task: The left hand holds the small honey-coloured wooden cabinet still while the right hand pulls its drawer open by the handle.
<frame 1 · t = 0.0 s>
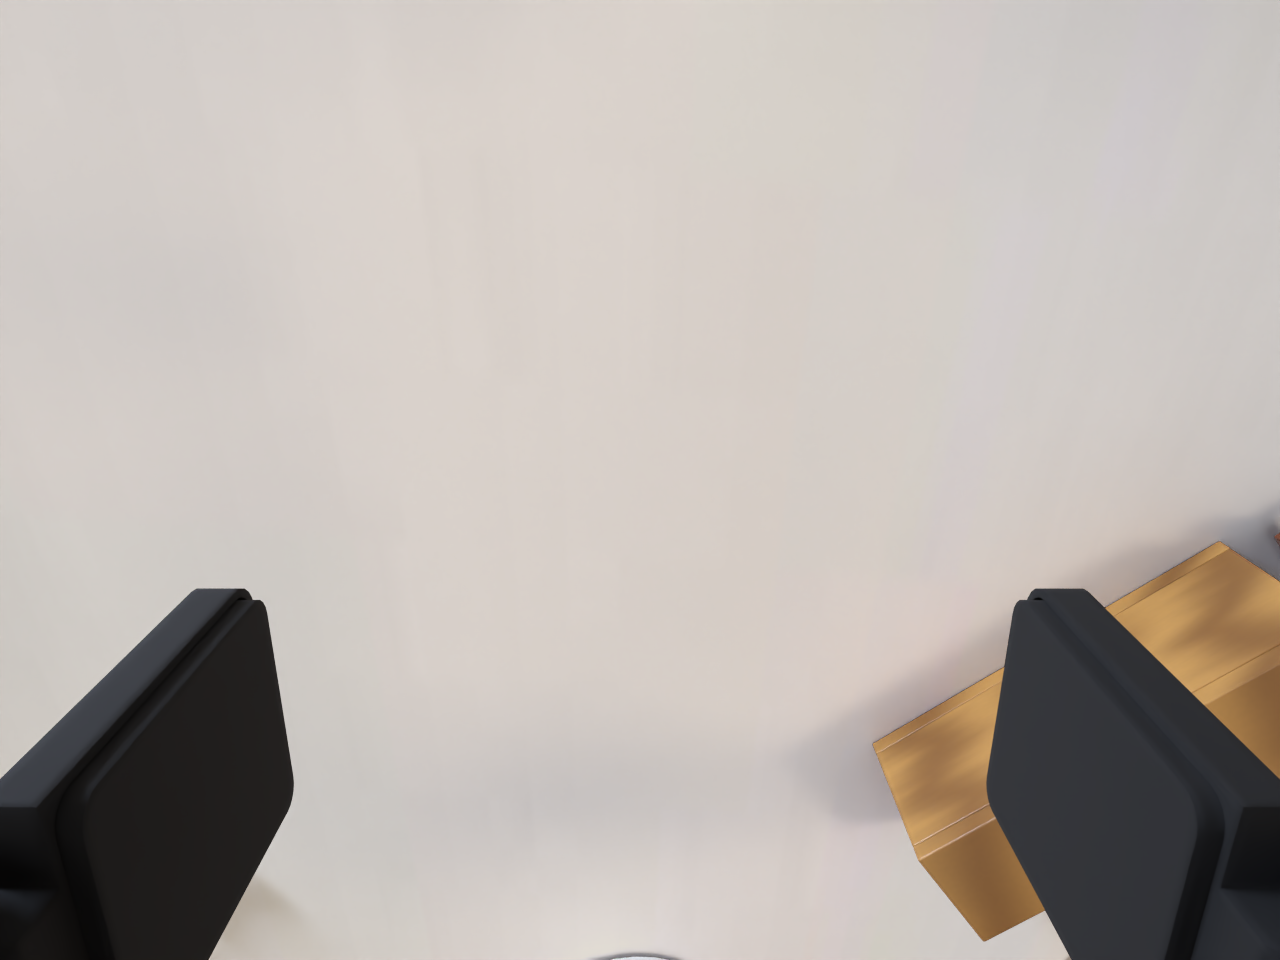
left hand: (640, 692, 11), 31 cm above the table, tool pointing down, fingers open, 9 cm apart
drawer: (1233, 665, 42), point 4 cm above the table, slide at 1.9 cm
cabinet: (1065, 686, 47), on the table
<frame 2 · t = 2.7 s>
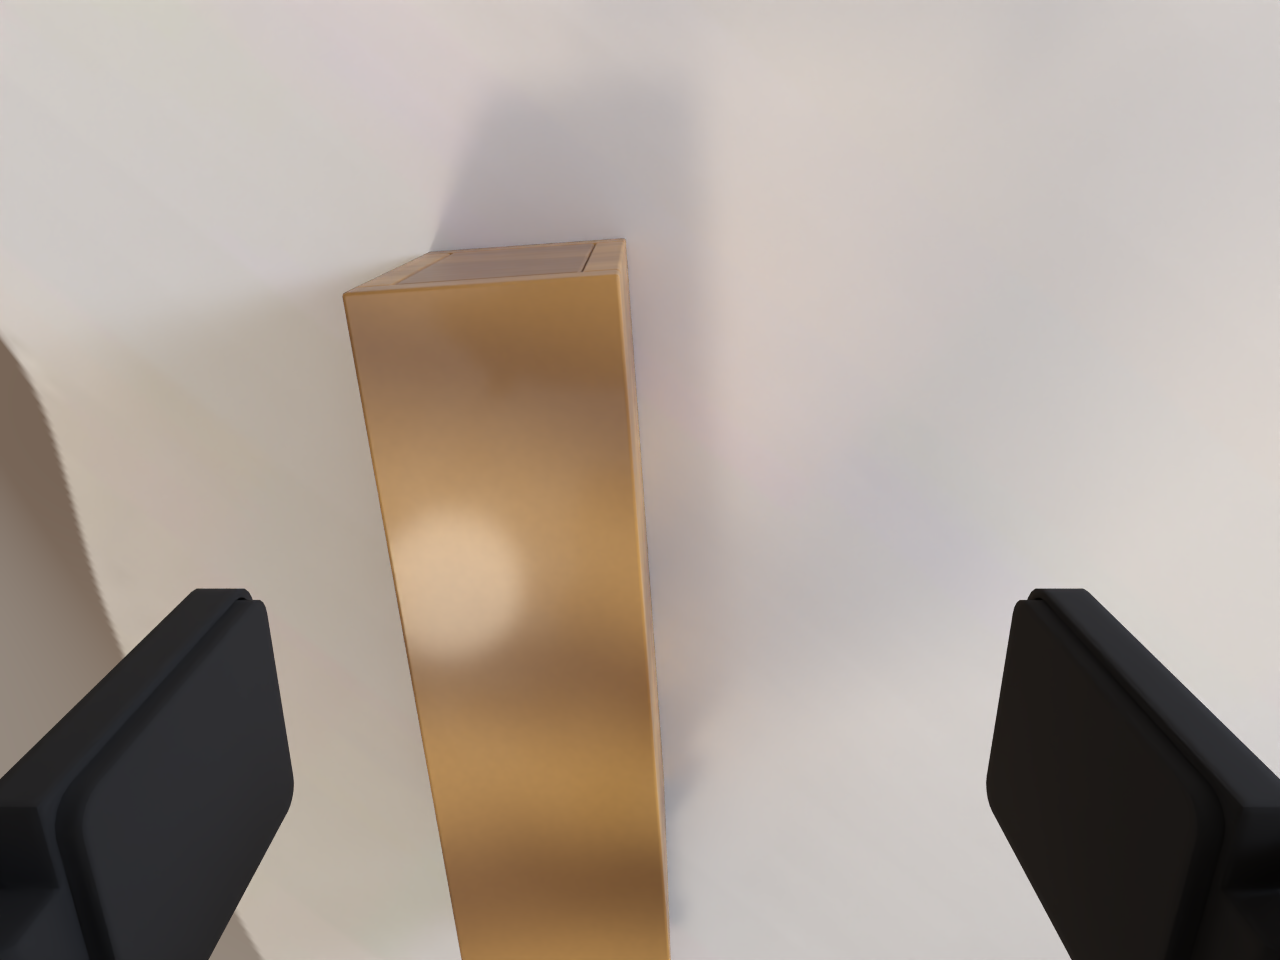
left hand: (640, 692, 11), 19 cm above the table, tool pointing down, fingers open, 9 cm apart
cabinet: (558, 545, 31), on the table
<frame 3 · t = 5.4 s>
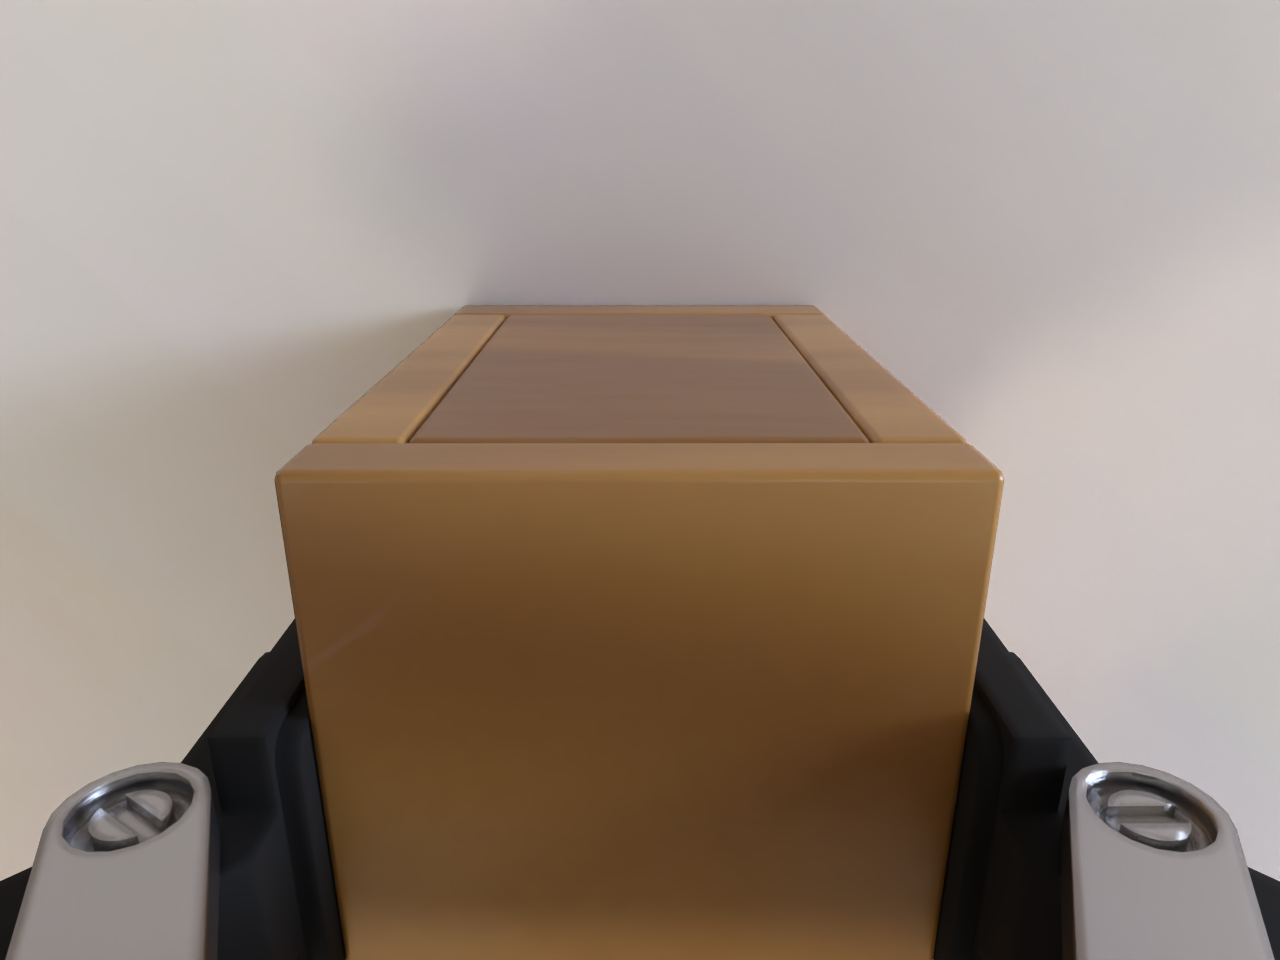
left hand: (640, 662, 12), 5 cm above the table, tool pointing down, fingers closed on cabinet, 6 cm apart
cabinet: (639, 787, 19), on the table, touching left hand
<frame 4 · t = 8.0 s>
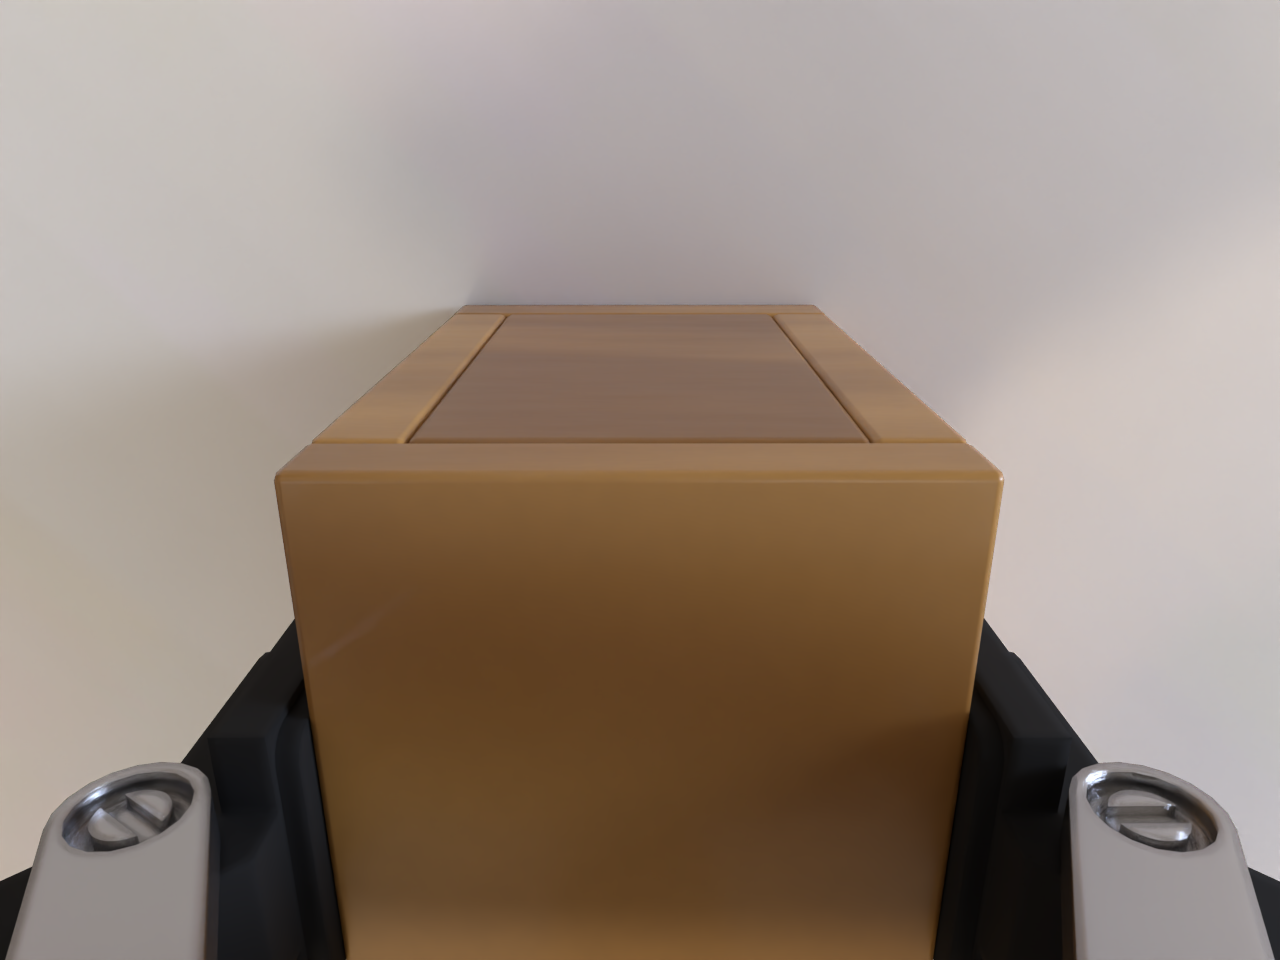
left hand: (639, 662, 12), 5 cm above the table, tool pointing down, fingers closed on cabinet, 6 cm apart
cabinet: (639, 786, 19), on the table, touching left hand
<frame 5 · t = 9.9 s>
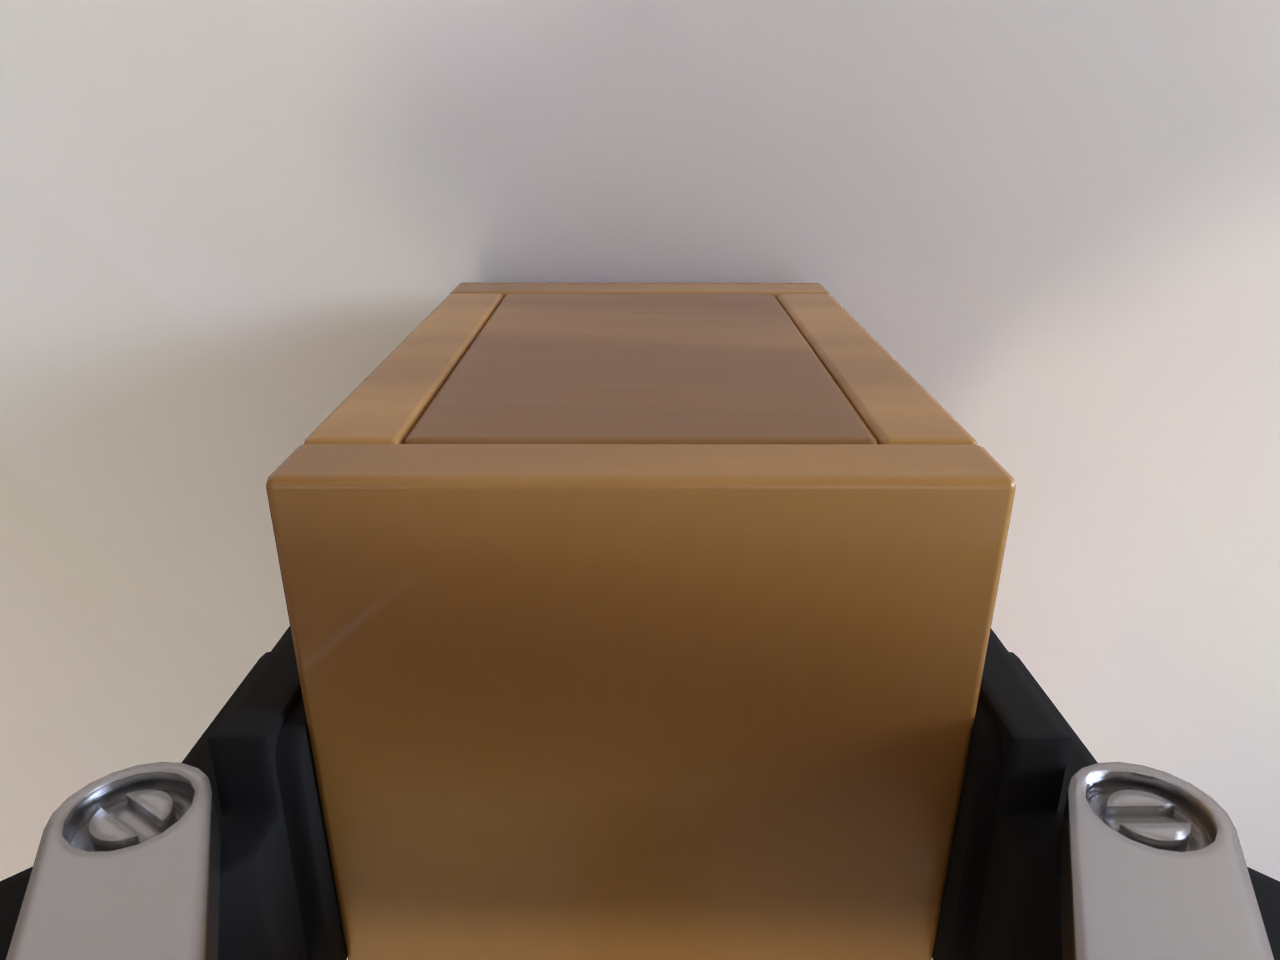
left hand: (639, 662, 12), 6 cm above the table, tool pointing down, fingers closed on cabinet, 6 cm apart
cabinet: (639, 762, 19), on the table, touching left hand
when the left hand's fingers open (5 cm above the table, at t = 11.5 s): cabinet stays where it is, on the table.
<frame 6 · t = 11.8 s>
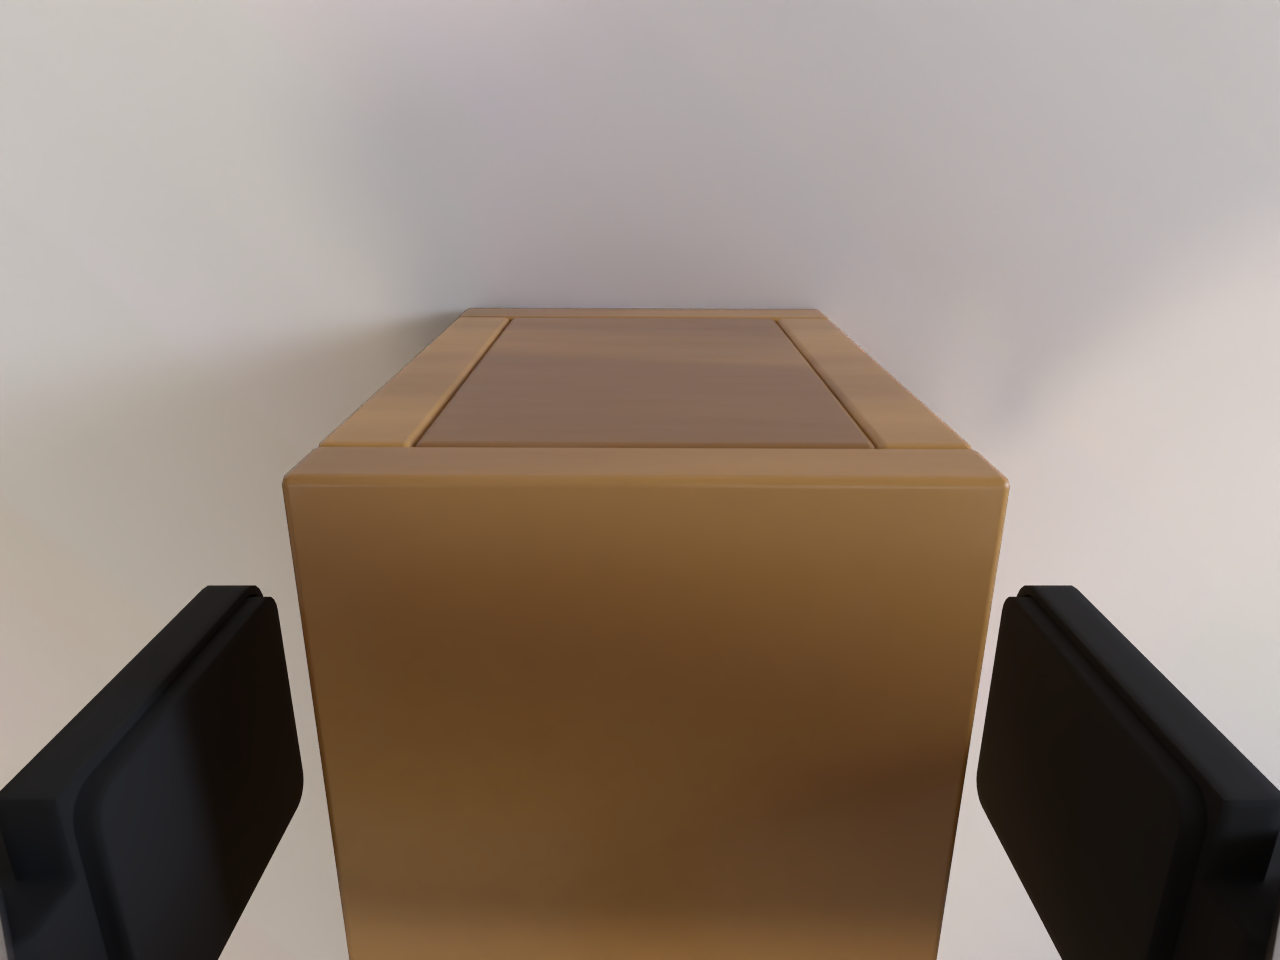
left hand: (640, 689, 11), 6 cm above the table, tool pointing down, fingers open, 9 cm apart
cabinet: (640, 789, 19), on the table
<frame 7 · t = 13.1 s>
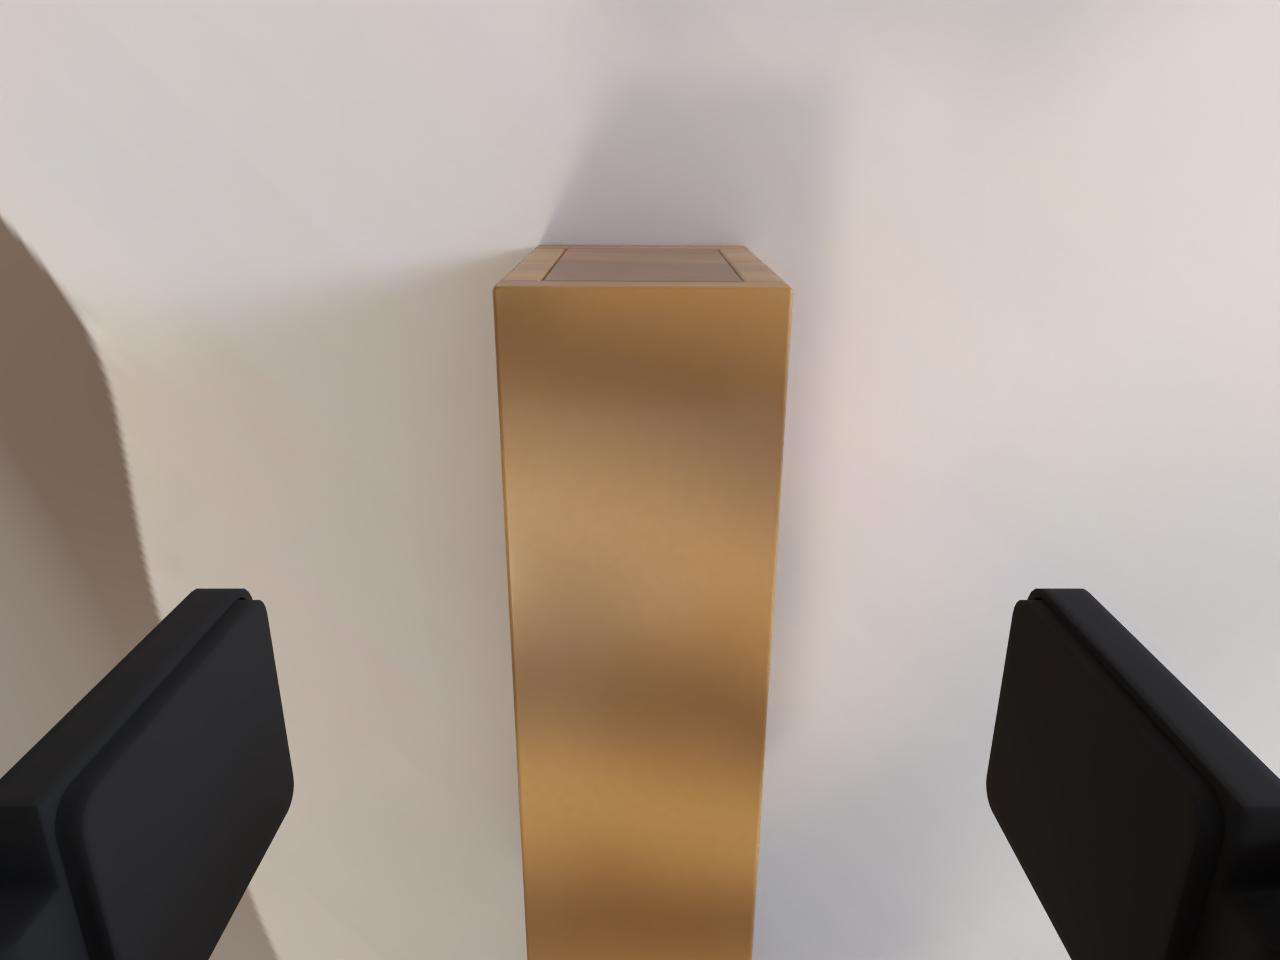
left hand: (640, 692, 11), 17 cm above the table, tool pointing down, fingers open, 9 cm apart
cabinet: (640, 560, 30), on the table
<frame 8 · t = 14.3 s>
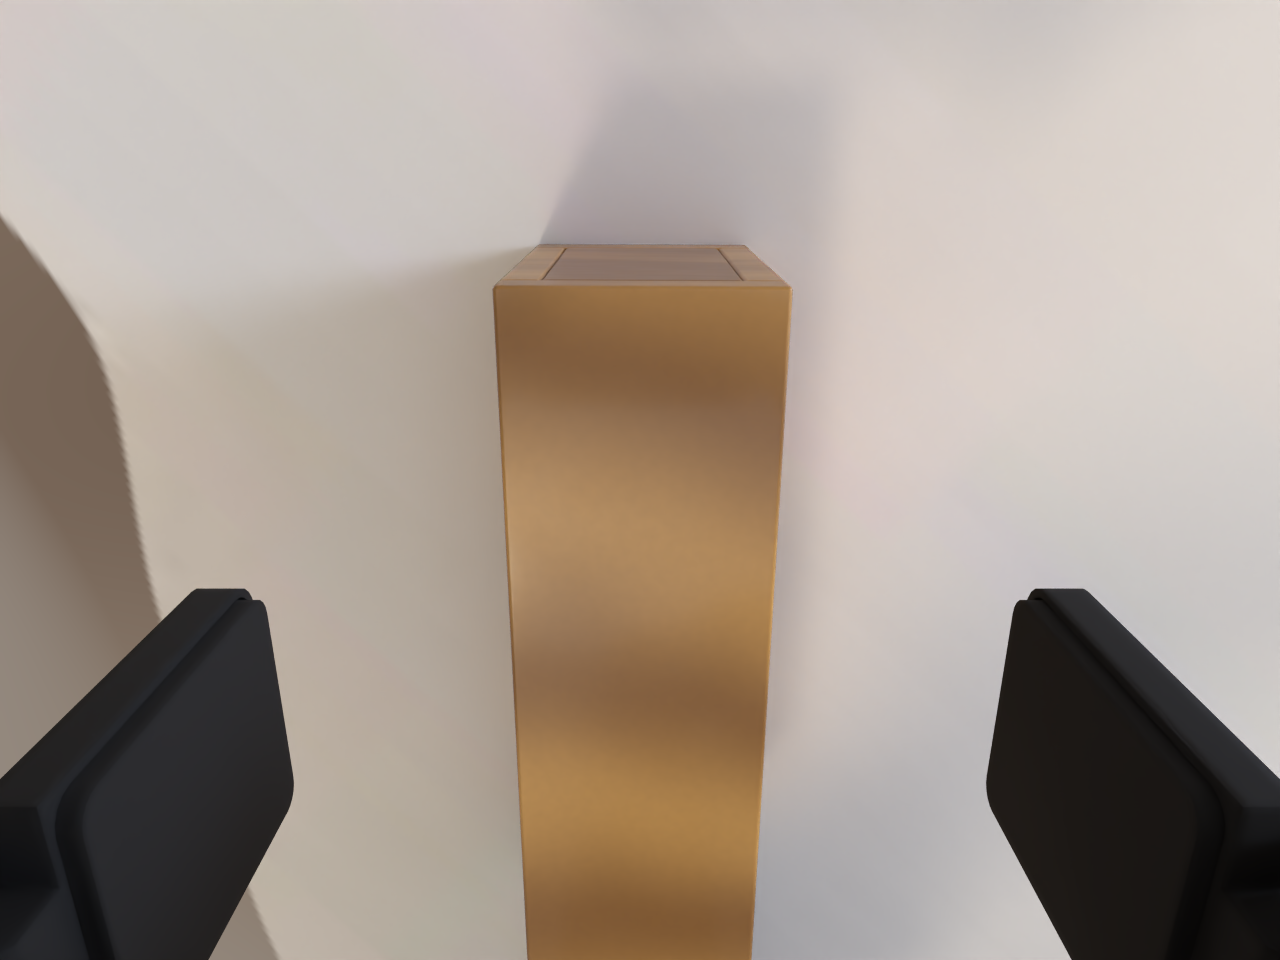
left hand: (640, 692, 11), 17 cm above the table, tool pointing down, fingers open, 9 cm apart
cabinet: (640, 559, 30), on the table
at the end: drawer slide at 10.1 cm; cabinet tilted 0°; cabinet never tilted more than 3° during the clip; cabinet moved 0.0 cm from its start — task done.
